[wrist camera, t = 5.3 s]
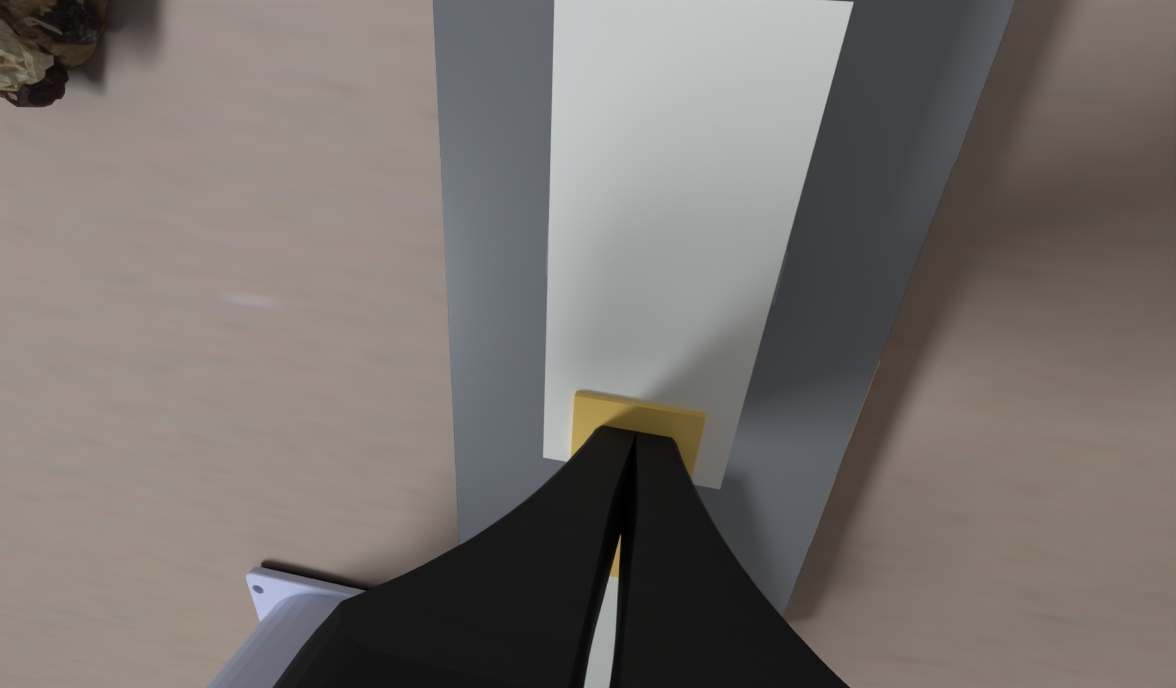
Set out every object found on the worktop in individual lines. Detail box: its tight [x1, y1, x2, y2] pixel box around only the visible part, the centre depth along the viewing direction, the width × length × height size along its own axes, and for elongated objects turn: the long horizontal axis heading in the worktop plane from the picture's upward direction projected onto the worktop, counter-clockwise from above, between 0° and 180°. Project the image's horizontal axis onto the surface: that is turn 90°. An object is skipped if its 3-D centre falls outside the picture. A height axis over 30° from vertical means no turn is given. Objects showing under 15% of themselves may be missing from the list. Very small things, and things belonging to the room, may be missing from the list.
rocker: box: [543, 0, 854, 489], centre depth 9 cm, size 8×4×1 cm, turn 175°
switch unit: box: [433, 0, 1015, 617], centre depth 13 cm, size 20×10×4 cm, turn 175°
